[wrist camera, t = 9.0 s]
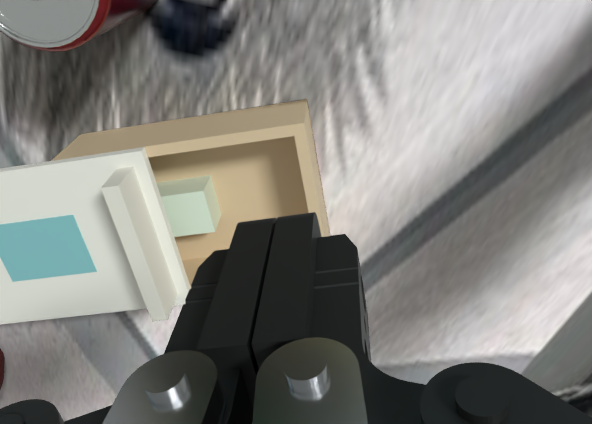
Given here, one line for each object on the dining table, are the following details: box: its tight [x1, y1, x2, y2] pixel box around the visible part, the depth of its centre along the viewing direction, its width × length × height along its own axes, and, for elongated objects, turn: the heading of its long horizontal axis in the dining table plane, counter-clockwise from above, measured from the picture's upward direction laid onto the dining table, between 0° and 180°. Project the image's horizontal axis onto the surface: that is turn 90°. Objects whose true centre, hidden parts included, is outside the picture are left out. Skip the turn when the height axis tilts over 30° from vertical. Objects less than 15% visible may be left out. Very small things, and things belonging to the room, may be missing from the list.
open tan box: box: [51, 99, 330, 287], centre depth 42 cm, size 18×13×5 cm
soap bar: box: [157, 175, 221, 237], centre depth 43 cm, size 5×4×3 cm
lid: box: [0, 147, 191, 324], centre depth 40 cm, size 18×13×4 cm
